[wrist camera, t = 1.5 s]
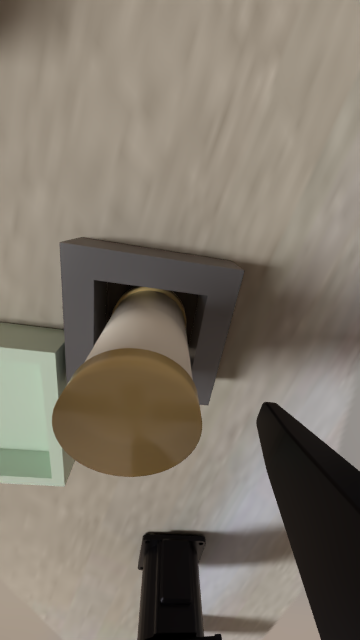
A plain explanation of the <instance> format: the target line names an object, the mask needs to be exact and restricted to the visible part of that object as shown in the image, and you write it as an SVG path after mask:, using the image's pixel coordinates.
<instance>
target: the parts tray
mask: <svg viewBox="0 0 360 640" xmlns="http://www.w3.org/2000/svg"><path fill="white" fill-rule="evenodd" d="M66 386H67V378H66V358H65V339H64V330H62V329H54V328H45V327H37V326H28V325H19V324H11V323H2V322H0V483H8V484H27V485H46V486H64V487H65V485H66V482H67V479H68V477H69V474H70V472H71V469H72V467H73V464H74V462H75V460H74V459H73V458H72V457H71V456H69V455H68V454H67V453H66V452H65V451H64V449H63V448H62V447H61V446H60V444H59V443H58V441H57V439H56V437H55V434H54V432H53V427H52V414H53V409H54V407H55V404H56V402H57V400H58V399H59V397H60V395H61V394H62V392H63V390H64V389H65V387H66Z"/></svg>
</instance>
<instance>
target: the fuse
mask: <svg viewBox="0 0 360 640" xmlns="http://www.w3.org/2000/svg"><path fill="white" fill-rule="evenodd" d="M186 325H187V324H186V315H185V309H184V306H183V304H182V302H181V300H180V299H179V297H178V296H177V295H176V294H175V293H174V292H172V291H170V290H163V289H155V288H148V287H141V286H135V287H132V288H131V289H129V290H127V291H126V292H125V293H124V294H123V295H122V296H121V298H120V299H119V301H118V303H117V304H116V306H115V308H114V310H113V313H112V316H111V318H110V320H109V321H108V323H107V325H106V326H105V328H104V330H103V332H102V333H101V335H100V337H99V338H98V340H97V342H96V343H95V345H94V347H93V349H92V350H91V352H90V354H89V355H88V357H87V359H86V360H85V362H84V363H83V364H82V365H81V366H80V367H79V368H78V369H77V370H76V371H75V373H74V374H73V376H72V377H71V379H70V381H69V382H68V384H67V386H66V387H65V389H64V390H63V392H62V394H61V395H60V397H59V399H58V400H57V402H56V404H55V407H54V409H53V414H52V427H53V432H54V434H55V437H56V439H57V441H58V443H59V444H60V446H61V447H62V448H63V449H64V451H65V452H66V453H67V454H68V455H69V456H71V457H72V458H73V459H74V460H76V461H77V462H79V463H81V464H82V465H84V466H86V467H88V468H90V469H93V470H95V471H98V472H101V473H105V474H109V475H115V476H124V477H137V476H146V475H152V474H156V473H159V472H162V471H165V470H168V469H170V468H172V467H174V466H176V465H177V464H179V463H180V462H182V461H183V460H184V459H186V458H187V457H188V456H189V455H190V454H191V453H192V451H193V450H194V449H195V447H196V446H197V444H198V442H199V439H200V437H201V432H202V418H201V412H200V405H199V399H198V393H197V389H196V386H195V384H194V382H193V378H192V371H191V364H190V356H189V349H188V342H187V335H186Z"/></svg>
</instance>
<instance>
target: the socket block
mask: <svg viewBox="0 0 360 640" xmlns="http://www.w3.org/2000/svg"><path fill="white" fill-rule="evenodd" d="M60 261H61V280H62V300H63V319H64V339H65V358H66V378H67V384H68V382H69V381H70V379H71V377H72V376H73V374H74V373H75V371H76V370H77V369H78V368H79V367H80V366H81V365H82V364H83V363H84V362H85V360H86V359H87V357H88V355H89V354H90V352H91V350H92V349H93V347H94V345H95V343H96V342H97V340H98V338H99V337H100V335H101V333H102V332H103V330H104V328H105V326H106V310H107V282H112V283H120V284H127V285H134V286H141V287H148V288H155V289H163V290H170V291H177V292H184V293H191V294H198V295H199V296H198V301H197V306H196V311H195V316H194V321H193V326H192V331H191V336H190V341H189V347H188V349H189V356H190V364H191V371H192V378H193V382H194V384H195V386H196V389H197V393H198V399H199V405H208V404H209V401H210V397H211V393H212V390H213V386H214V382H215V378H216V375H217V371H218V367H219V364H220V360H221V356H222V352H223V349H224V345H225V341H226V338H227V334H228V330H229V326H230V323H231V319H232V315H233V312H234V308H235V304H236V300H237V297H238V293H239V289H240V286H241V282H242V278H243V274H244V270H243V269H242V268H240V267H239V266H238V265H236V264H235V263H233V262H232V261H229V260H223V259H216V258H210V257H203V256H197V255H191V254H184V253H178V252H171V251H165V250H159V249H152V248H146V247H139V246H133V245H127V244H120V243H114V242H107V241H101V240H95V239H88V238H82V237H80V238H76V239H71V240H67V241H63V242H60Z"/></svg>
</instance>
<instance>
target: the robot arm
mask: <svg viewBox="0 0 360 640" xmlns="http://www.w3.org/2000/svg"><path fill="white" fill-rule="evenodd" d="M257 429H258V434H259V438H260V443H261V447H262V452H263V456H264V461H265V465H266V469H267V473H268V476H269V479H270V483H271V486H272V489H273V492H274V495H275V498H276V501H277V504H278V507H279V510H280V514H281V517H282V520H283V523H284V526H285V529H286V532H287V535H288V538H289V541H290V545H291V548H292V551H293V554H294V557H295V560H296V563H297V566H298V569H299V572H300V576H301V579H302V582H303V585H304V588H305V591H306V594H307V597H308V600H309V603H310V606H311V610H312V613H313V615H314V619H315V622H316V625H317V628H318V631H319V634H320V638H321V640H360V471H358V470H357V469H356V468H355V467H354V466H352V465H351V464H350V463H349V462H347V461H346V460H345V459H344V458H343V457H341V456H340V455H339V454H338V453H336V452H335V451H334V450H333V449H332V448H330V447H329V446H328V445H327V444H325V443H324V442H323V441H322V440H321V439H319V438H318V437H317V436H316V435H314V434H313V433H312V432H311V431H310V430H308V429H307V428H306V427H305V426H303V425H302V424H301V423H300V422H299V421H297V420H296V419H295V418H294V417H292V416H291V415H290V414H289V413H288V412H286V411H285V410H284V409H283V408H281V407H280V406H279V405H278V404H276V403H272V402H264V403H263V404H262V407H261V409H260V412H259V414H258V417H257ZM205 544H206V541H205V537H203V536H179V535H151V534H147V535H144V536H143V539H142V545H141V551H140V556H139V562H138V569H139V570H143V573H142V586H141V599H140V612H139V625H138V638H137V640H222V637H221V634H215V636H207V637H204V630H203V618H202V605H201V593H200V580H199V568H198V563H199V560H200V557H201V555H202V552H203V550H204V547H205Z"/></svg>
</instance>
